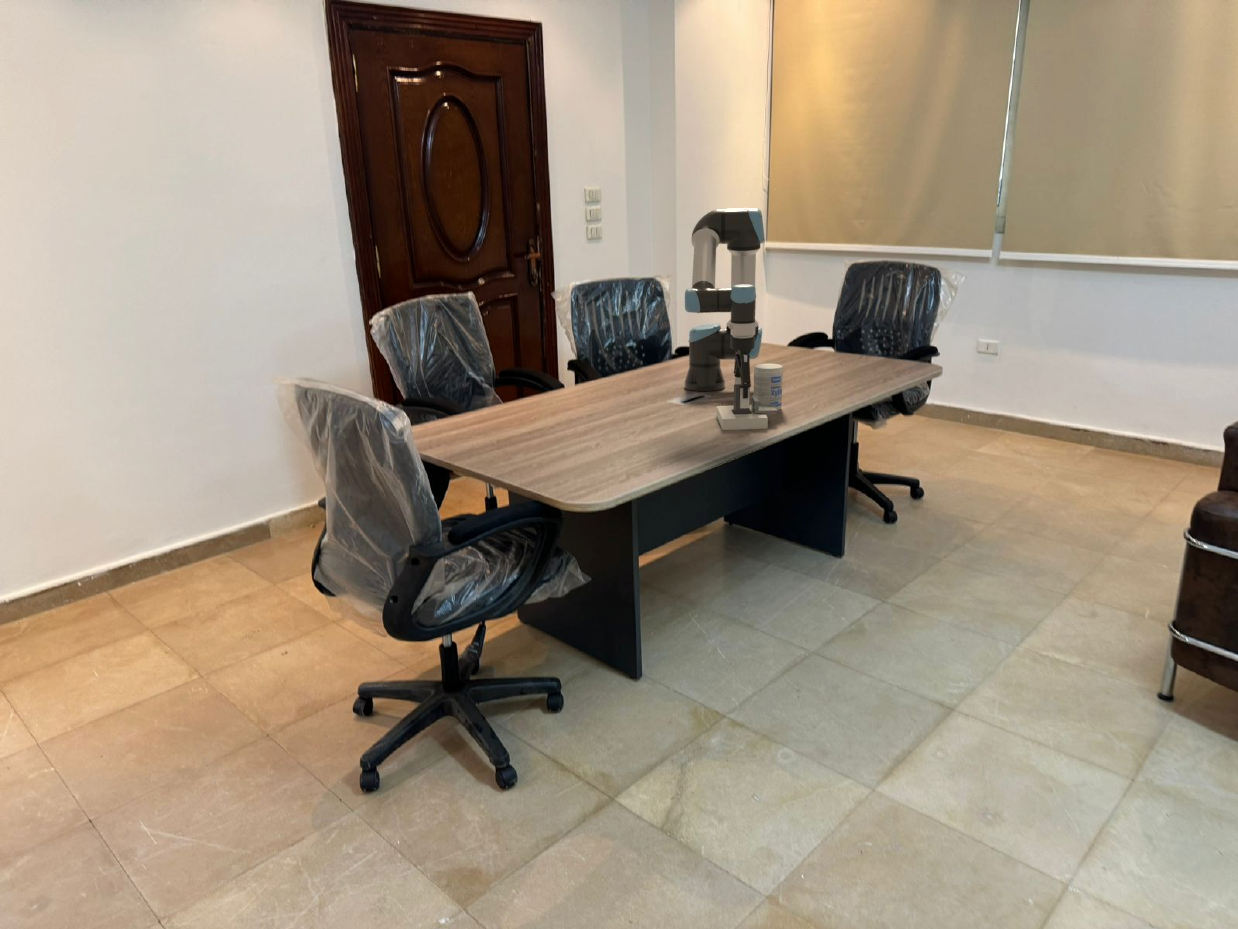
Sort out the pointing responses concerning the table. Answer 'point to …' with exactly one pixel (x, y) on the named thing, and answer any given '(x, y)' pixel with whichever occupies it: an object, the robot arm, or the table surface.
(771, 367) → the supplement tub
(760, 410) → the plate
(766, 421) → the socket plate
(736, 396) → the plug
